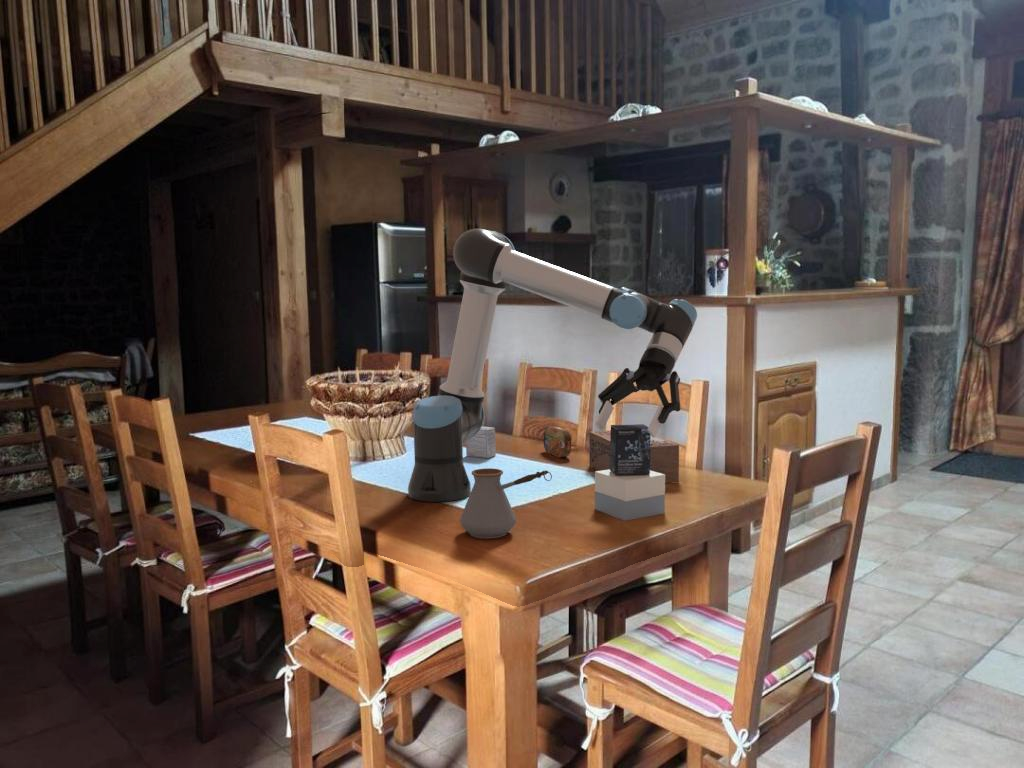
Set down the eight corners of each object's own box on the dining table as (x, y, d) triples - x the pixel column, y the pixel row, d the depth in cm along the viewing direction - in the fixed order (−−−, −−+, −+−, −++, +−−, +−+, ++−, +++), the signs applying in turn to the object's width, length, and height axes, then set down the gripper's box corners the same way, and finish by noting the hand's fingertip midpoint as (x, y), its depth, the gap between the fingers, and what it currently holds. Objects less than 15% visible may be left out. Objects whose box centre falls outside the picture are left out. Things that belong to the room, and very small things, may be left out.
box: (615, 476, 182) (616, 428, 181) (609, 471, 188) (609, 424, 187) (650, 475, 183) (651, 427, 182) (643, 469, 189) (644, 423, 188)
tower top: (625, 501, 179) (625, 480, 178) (595, 491, 188) (594, 471, 188) (665, 494, 185) (665, 474, 184) (633, 484, 194) (633, 465, 193)
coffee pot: (448, 535, 170) (446, 462, 168) (484, 522, 179) (483, 453, 177) (532, 554, 157) (531, 476, 155) (567, 539, 166) (566, 465, 164)
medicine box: (496, 456, 249) (495, 427, 248) (487, 458, 245) (487, 429, 244) (474, 453, 253) (473, 425, 252) (465, 456, 249) (465, 427, 248)
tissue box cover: (678, 483, 213) (679, 445, 212) (626, 488, 209) (626, 448, 208) (637, 463, 237) (637, 428, 236) (589, 467, 234) (589, 431, 232)
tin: (542, 451, 256) (542, 424, 255) (551, 450, 257) (551, 423, 256) (563, 460, 242) (563, 431, 241) (573, 459, 243) (573, 430, 242)
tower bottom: (624, 522, 179) (624, 502, 179) (594, 510, 189) (594, 491, 188) (664, 515, 185) (664, 495, 184) (633, 504, 194) (633, 485, 194)
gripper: (715, 370, 187) (681, 446, 177) (620, 364, 203) (584, 434, 193) (704, 348, 182) (668, 425, 173) (608, 344, 198) (571, 414, 189)
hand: (624, 430), depth 183 cm, fingers open, 13 cm apart
